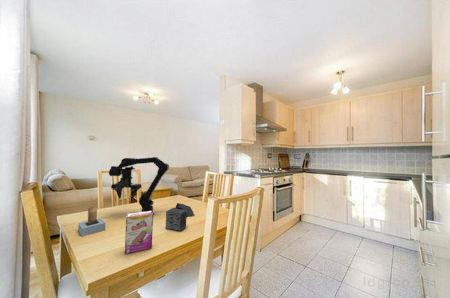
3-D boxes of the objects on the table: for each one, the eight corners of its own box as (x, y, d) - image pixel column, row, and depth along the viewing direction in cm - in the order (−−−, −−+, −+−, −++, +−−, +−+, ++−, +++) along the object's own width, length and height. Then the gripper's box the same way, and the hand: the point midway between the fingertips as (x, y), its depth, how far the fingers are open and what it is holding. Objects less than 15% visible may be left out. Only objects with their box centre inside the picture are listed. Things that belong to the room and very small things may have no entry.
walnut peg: (97, 228, 100) (98, 206, 101) (94, 231, 97) (94, 208, 97) (89, 228, 100) (90, 207, 100) (85, 232, 96) (86, 209, 96)
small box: (186, 227, 103) (187, 209, 104) (180, 232, 97) (181, 213, 97) (171, 224, 107) (172, 207, 107) (165, 229, 101) (165, 211, 101)
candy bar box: (124, 255, 75) (125, 217, 75) (125, 249, 79) (126, 213, 80) (152, 248, 80) (153, 213, 81) (151, 243, 85) (152, 210, 85)
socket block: (100, 224, 105) (100, 218, 105) (105, 230, 98) (105, 222, 98) (78, 230, 98) (78, 223, 98) (81, 236, 91) (82, 228, 91)
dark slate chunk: (173, 219, 116) (173, 212, 116) (170, 209, 137) (170, 203, 137) (195, 216, 122) (196, 210, 122) (190, 207, 142) (190, 201, 142)
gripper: (105, 177, 113) (104, 201, 112) (132, 178, 111) (131, 202, 111) (117, 175, 124) (116, 197, 124) (142, 175, 122) (141, 198, 122)
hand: (126, 198), depth 120 cm, fingers open, 9 cm apart
